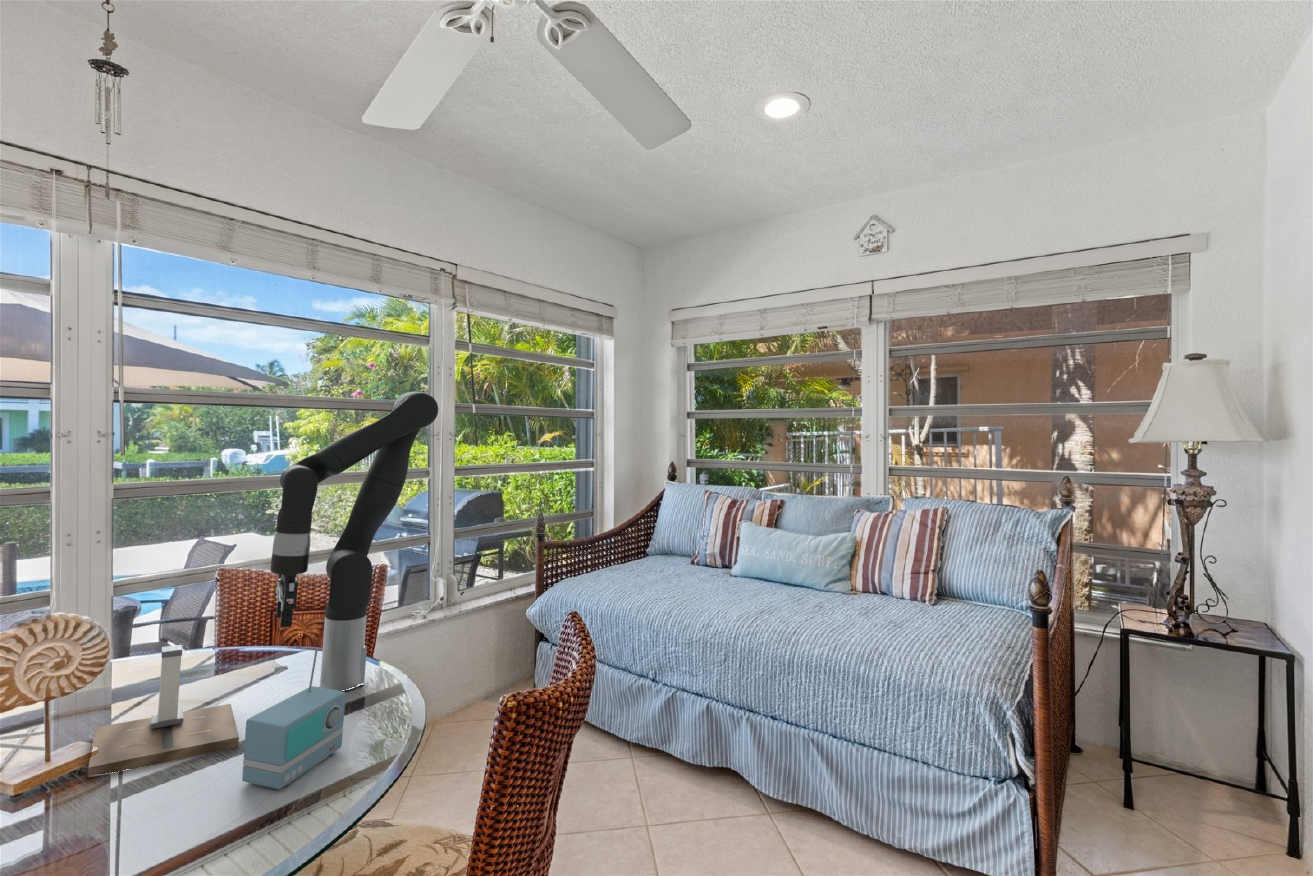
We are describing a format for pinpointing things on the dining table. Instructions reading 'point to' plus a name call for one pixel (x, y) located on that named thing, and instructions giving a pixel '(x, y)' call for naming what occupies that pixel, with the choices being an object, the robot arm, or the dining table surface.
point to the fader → (169, 688)
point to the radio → (293, 736)
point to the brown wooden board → (163, 740)
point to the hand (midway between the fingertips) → (283, 621)
